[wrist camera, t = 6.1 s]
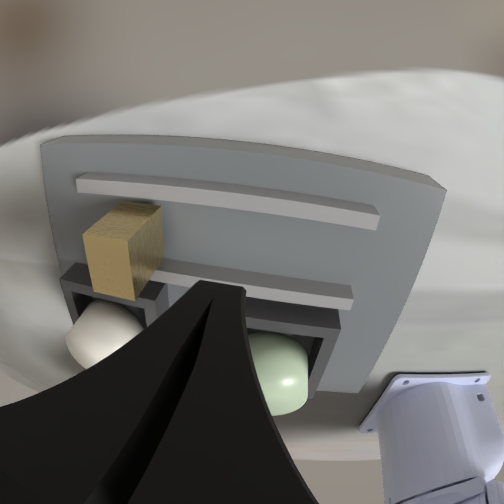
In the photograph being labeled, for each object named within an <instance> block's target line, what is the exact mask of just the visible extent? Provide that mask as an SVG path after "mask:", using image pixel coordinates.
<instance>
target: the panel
mask: <svg viewBox="0 0 504 504" xmlns="http://www.w3.org/2000/svg"><path fill="white" fill-rule="evenodd" d="M40 147H41V158H42V168H43V177H44V185H45V192H46V199H47V205H48V211H49V217H50V223H51V228H52V233H53V238H54V243H55V247H56V252H57V256H58V260H59V264H60V268H61V272H62V277H61V278H60V283H61V287H62V290H63V293H64V297H65V300H66V303H67V306H68V310H69V313H70V316H71V319H72V322H73V325H74V324H75V322H76V321H77V320H78V318H79V317H80V316H81V314H82V313H83V312H84V310H85V309H86V308H87V307H88V305H89V304H90V303H91V302H93V301H96V300H108V301H111V302H114V303H117V304H119V305H121V306H122V307H124V308H126V309H127V310H128V311H130V312H131V313H132V314H133V315H134V316H135V317H136V318H137V319H138V320H139V322H140V323H141V324H142V326H143V328H144V329H145V328H146V327H148V326H149V325H150V324H151V323H152V322H154V321H155V320H156V319H157V318H158V317H159V316H160V315H162V314H163V313H164V312H165V311H166V310H167V309H168V308H170V307H171V306H172V305H173V304H174V303H175V302H176V301H177V300H178V299H179V298H180V297H181V296H183V295H184V294H185V293H186V292H187V291H188V290H189V289H190V288H191V287H192V286H193V285H194V284H195V283H196V282H197V281H199V280H205V281H211V282H217V283H223V284H230V285H236V286H242V287H244V288H245V289H246V291H247V292H246V301H245V318H246V327H247V333H248V335H249V334H252V333H257V332H278V333H282V334H286V335H288V336H291V337H293V338H295V339H296V340H298V341H299V342H300V343H301V344H302V345H303V346H304V347H305V349H306V351H307V355H308V397H307V399H313V397H314V394H315V392H316V390H317V391H329V392H344V393H359V391H360V390H361V388H362V386H363V385H364V383H365V381H366V379H367V378H368V376H369V374H370V372H371V371H372V369H373V367H374V365H375V363H376V361H377V360H378V358H379V356H380V354H381V352H382V350H383V348H384V346H385V344H386V342H387V341H388V339H389V337H390V335H391V333H392V331H393V328H394V326H395V324H396V322H397V320H398V318H399V316H400V314H401V312H402V309H403V307H404V305H405V303H406V301H407V298H408V296H409V294H410V291H411V289H412V287H413V284H414V282H415V280H416V277H417V275H418V272H419V270H420V267H421V265H422V262H423V260H424V257H425V254H426V252H427V249H428V246H429V244H430V241H431V238H432V235H433V232H434V229H435V226H436V223H437V220H438V217H439V214H440V211H441V208H442V205H443V201H444V198H445V195H446V191H447V190H446V189H445V188H444V187H442V186H441V185H440V184H439V183H437V182H436V181H435V180H433V179H432V178H431V177H430V176H427V175H424V174H420V173H416V172H412V171H408V170H404V169H400V168H396V167H391V166H387V165H383V164H378V163H374V162H369V161H364V160H359V159H354V158H349V157H344V156H339V155H333V154H328V153H322V152H316V151H310V150H304V149H297V148H290V147H283V146H276V145H268V144H260V143H251V142H242V141H232V140H222V139H210V138H196V137H180V136H158V135H75V136H63V137H60V138H58V139H55V140H52V141H49V142H47V143H44V144H41V145H40ZM122 201H123V202H132V203H142V204H151V205H160V206H162V230H163V252H164V259H163V260H162V262H161V263H160V264H159V266H158V267H157V269H156V270H155V272H154V273H153V275H152V276H151V278H150V279H149V281H148V283H147V284H146V286H145V287H144V289H143V290H142V292H141V293H140V295H139V296H138V298H137V299H136V301H132V300H128V299H123V298H119V297H115V296H110V295H106V294H102V293H98V292H94V290H93V286H92V281H91V277H90V272H89V267H88V262H87V257H86V252H85V247H84V241H83V235H82V234H83V233H85V232H86V231H87V230H88V229H89V228H90V227H92V226H93V225H94V224H95V223H96V222H98V221H99V220H100V219H101V218H102V217H104V216H105V215H106V214H107V213H108V212H110V211H111V210H112V209H113V208H115V207H116V206H117V205H118V204H120V203H121V202H122Z"/></svg>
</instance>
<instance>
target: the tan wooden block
mask: <svg viewBox="0 0 504 504" xmlns="http://www.w3.org/2000/svg"><path fill="white" fill-rule="evenodd" d="M82 235H83V241H84V247H85V252H86V257H87V262H88V267H89V272H90V277H91V281H92V286H93V290H94V292H98V293H102V294H106V295H110V296H115V297H119V298H123V299H128V300H132V301H136V299H137V298H138V296H139V295H140V293H141V292H142V290H143V289H144V287H145V286H146V284H147V283H148V281H149V279H150V278H151V276H152V275H153V273H154V272H155V270H156V269H157V267H158V266H159V264H160V263H161V262H162V260H163V259H164V252H163V230H162V206H160V205H151V204H142V203H132V202H123V201H122V202H121V203H120V204H118V205H117V206H116V207H115V208H113V209H112V210H111V211H110V212H108V213H107V214H106V215H105V216H104V217H102V218H101V219H100V220H99V221H98V222H96V223H95V224H94V225H93V226H92V227H90V228H89V229H88V230H87V231H86V232H85V233H83V234H82Z"/></svg>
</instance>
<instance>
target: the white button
mask: <svg viewBox="0 0 504 504" xmlns="http://www.w3.org/2000/svg"><path fill="white" fill-rule="evenodd" d="M143 330H144V328H143V326H142V324H141V323H140V322H139V320H138V319H137V318H136V317H135V316H134V315H133V314H132V313H131V312H130V311H128V310H127V309H126V308H124V307H122V306H121V305H119V304H117V303H114V302H111V301H108V300H96V301H93V302H91V303H90V304H89V305H88V307H87V308H86V309H85V310H84V312H83V313H82V314H81V316H80V317H79V318H78V320H77V321H76V322H75V324H74V325H73V327H72V328H71V329H70V331H69V332H68V333H67V335H66V344H67V347H68V349H69V351H70V353H71V354H72V356H73V357H74V358H75V360H76V361H77V362H78V363H79V364H80V365H81V366H83V367H84V368H85V369H88V368H89V367H91V366H93V365H95V364H96V363H98V362H99V361H101V360H102V359H104V358H106V357H107V356H109V355H110V354H112V353H113V352H115V351H116V350H117V349H119V348H120V347H122V346H123V345H124V344H126V343H127V342H128V341H130V340H131V339H132V338H134V337H135V336H136V335H137V334H139V333H140V332H141V331H143Z"/></svg>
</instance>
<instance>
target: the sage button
mask: <svg viewBox="0 0 504 504" xmlns="http://www.w3.org/2000/svg"><path fill="white" fill-rule="evenodd" d="M248 338H249V344H250V349H251V353H252V357H253V361H254V365H255V369H256V372H257V376H258V379H259V382H260V385H261V389H262V391H263V394H264V397H265V400H266V402H267V405H268V408H269V410H270V413H271V415H272V416H276V415H283V414H287V413H291V412H293V411H295V410H297V409H299V408H300V407H302V406H303V405H304V403H305V402H306V400H307V397H308V355H307V351H306V349H305V347H304V346H303V345H302V344H301V343H300V342H299V341H298V340H296V339H295V338H293V337H291V336H288V335H286V334H282V333H278V332H257V333H252V334H249V335H248Z"/></svg>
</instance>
